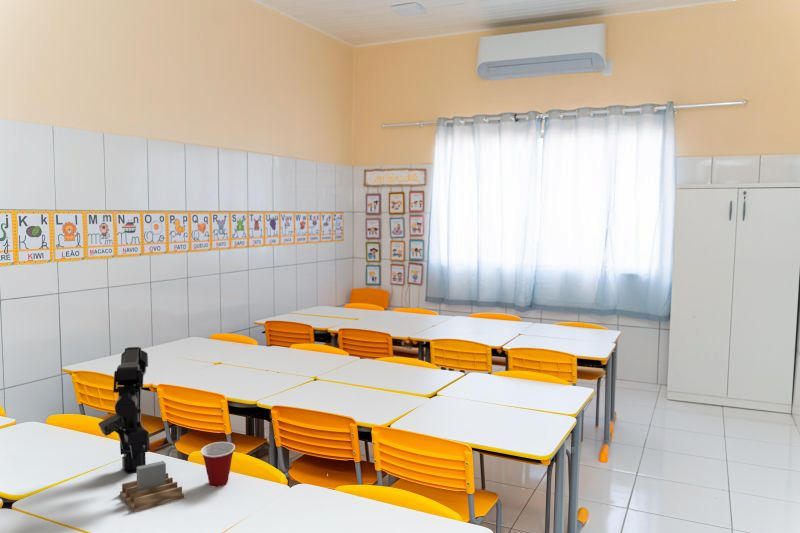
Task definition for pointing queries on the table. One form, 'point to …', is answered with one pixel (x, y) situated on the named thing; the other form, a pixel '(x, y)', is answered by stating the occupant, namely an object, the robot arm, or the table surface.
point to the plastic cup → (218, 462)
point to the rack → (150, 494)
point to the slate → (151, 475)
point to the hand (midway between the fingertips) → (129, 454)
